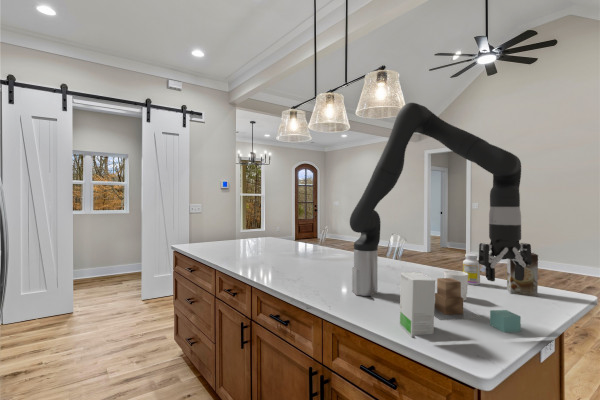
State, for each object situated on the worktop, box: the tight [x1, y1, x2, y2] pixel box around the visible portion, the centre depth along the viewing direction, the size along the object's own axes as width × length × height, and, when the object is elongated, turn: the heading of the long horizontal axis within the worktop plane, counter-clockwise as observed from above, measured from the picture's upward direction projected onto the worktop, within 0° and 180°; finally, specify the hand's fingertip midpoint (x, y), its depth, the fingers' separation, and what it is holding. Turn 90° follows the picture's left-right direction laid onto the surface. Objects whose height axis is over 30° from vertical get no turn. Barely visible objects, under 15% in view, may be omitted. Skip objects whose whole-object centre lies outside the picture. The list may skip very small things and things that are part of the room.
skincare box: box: [398, 271, 436, 338], centre depth 84 cm, size 8×7×16 cm
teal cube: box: [489, 309, 522, 333], centre depth 85 cm, size 5×5×5 cm
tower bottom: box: [434, 292, 464, 315], centre depth 98 cm, size 6×6×5 cm
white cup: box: [444, 270, 469, 301], centre depth 112 cm, size 8×8×10 cm
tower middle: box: [436, 277, 461, 298], centre depth 98 cm, size 5×5×5 cm
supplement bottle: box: [462, 253, 481, 286], centre depth 135 cm, size 7×7×13 cm
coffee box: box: [506, 251, 539, 297], centre depth 121 cm, size 9×6×16 cm
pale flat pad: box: [434, 303, 485, 321], centre depth 98 cm, size 14×14×1 cm
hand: (505, 280), depth 85 cm, fingers open, 8 cm apart
